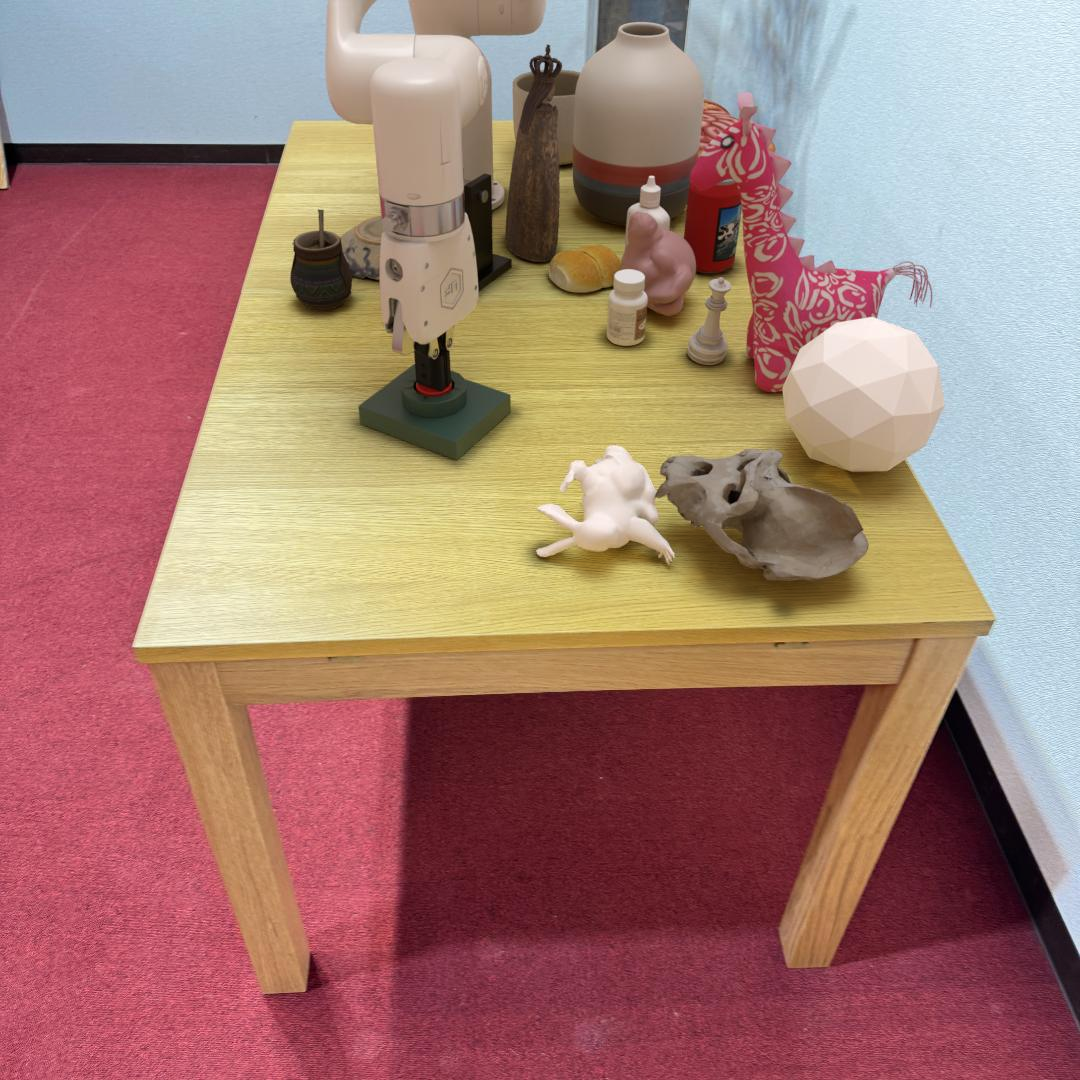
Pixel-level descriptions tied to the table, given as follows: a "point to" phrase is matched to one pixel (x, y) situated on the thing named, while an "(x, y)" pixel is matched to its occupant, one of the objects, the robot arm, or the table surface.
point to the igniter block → (435, 413)
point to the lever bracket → (483, 230)
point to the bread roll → (584, 268)
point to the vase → (636, 123)
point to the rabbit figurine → (609, 507)
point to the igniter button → (432, 390)
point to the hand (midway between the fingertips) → (433, 384)
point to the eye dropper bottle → (649, 206)
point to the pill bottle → (627, 308)
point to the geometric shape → (863, 395)
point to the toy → (784, 254)
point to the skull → (765, 514)
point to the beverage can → (713, 225)
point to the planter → (561, 99)
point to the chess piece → (711, 328)
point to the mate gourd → (320, 269)
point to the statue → (536, 170)
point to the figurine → (659, 263)
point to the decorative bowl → (364, 248)
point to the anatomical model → (716, 124)
